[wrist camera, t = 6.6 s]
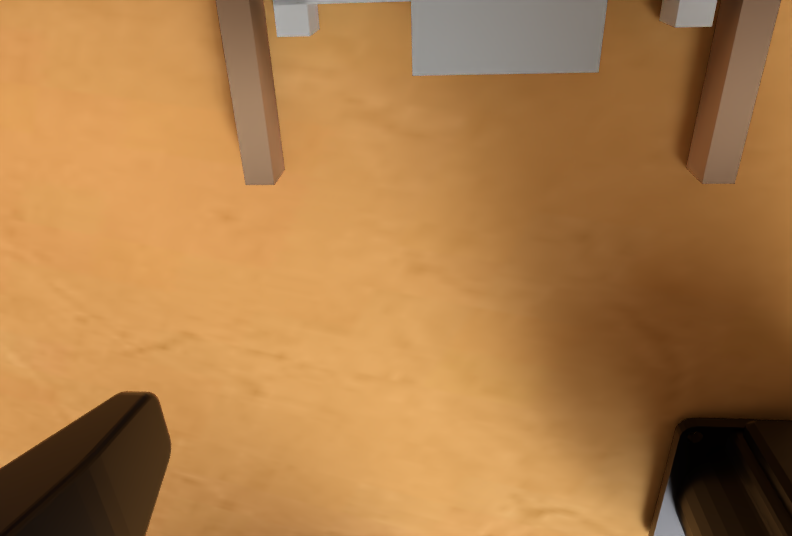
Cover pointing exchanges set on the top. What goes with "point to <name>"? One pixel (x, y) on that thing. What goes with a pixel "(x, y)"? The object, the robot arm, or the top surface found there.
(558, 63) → the grey sliding frame
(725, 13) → the lane frame
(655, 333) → the top surface
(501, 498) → the top surface
